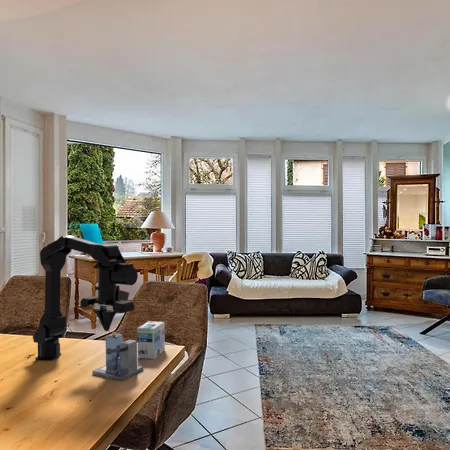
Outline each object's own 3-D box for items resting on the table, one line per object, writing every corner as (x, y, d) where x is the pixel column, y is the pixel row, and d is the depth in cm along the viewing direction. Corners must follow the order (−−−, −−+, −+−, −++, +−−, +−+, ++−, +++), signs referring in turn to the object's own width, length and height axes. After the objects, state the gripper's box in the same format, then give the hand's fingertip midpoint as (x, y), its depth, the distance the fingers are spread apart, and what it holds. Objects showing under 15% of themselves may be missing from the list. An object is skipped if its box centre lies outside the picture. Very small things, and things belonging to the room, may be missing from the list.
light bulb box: (154, 359, 135) (154, 328, 135) (136, 358, 136) (136, 327, 136) (165, 350, 146) (165, 321, 146) (148, 349, 147) (148, 320, 147)
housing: (107, 371, 120) (107, 335, 120) (104, 366, 125) (103, 331, 125) (124, 368, 123) (124, 332, 123) (120, 363, 127) (120, 329, 128)
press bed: (81, 379, 117) (80, 344, 117) (115, 364, 130) (114, 332, 130) (110, 386, 112) (110, 349, 112) (143, 370, 125) (143, 337, 125)
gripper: (145, 282, 129) (145, 328, 129) (104, 277, 138) (103, 321, 138) (122, 286, 119) (121, 337, 119) (79, 281, 128) (78, 329, 128)
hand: (106, 330), depth 126 cm, fingers closed
